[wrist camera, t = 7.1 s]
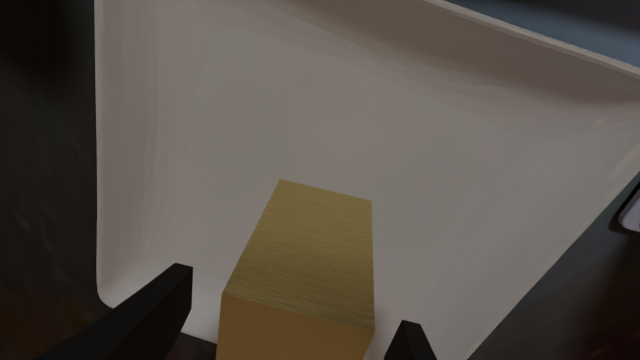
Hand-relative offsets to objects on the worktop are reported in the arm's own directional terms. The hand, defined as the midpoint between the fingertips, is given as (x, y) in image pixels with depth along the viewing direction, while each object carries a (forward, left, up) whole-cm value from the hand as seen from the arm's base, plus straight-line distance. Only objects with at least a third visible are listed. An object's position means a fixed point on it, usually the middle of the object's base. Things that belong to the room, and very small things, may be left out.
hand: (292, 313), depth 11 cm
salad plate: (0, 0, -8) cm, 8 cm away
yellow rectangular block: (0, 0, -4) cm, 5 cm away
